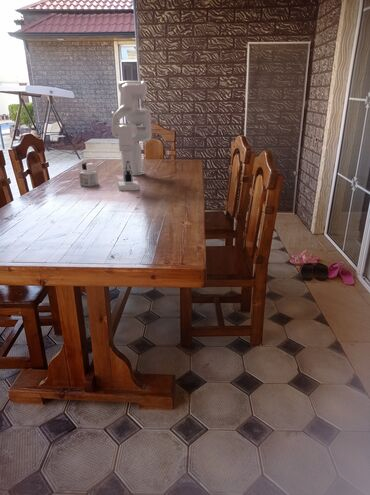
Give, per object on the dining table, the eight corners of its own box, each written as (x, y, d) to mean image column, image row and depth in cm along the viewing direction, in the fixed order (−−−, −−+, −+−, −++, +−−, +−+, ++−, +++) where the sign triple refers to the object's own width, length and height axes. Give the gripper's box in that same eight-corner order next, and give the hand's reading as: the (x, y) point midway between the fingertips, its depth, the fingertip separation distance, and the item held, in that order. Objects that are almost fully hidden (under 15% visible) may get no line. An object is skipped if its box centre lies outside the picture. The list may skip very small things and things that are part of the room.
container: (80, 185, 223) (77, 163, 218) (88, 182, 229) (86, 161, 225) (90, 186, 220) (88, 164, 215) (98, 184, 226) (96, 162, 221)
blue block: (123, 180, 216) (122, 170, 214) (131, 180, 217) (131, 169, 215) (124, 182, 212) (123, 171, 209) (132, 182, 213) (132, 171, 210)
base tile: (118, 186, 220) (117, 181, 218) (136, 185, 222) (136, 180, 221) (119, 190, 210) (119, 185, 209) (139, 189, 212) (138, 184, 211)
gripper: (118, 146, 214) (120, 177, 221) (120, 150, 199) (122, 183, 206) (131, 146, 216) (132, 177, 223) (134, 149, 200) (136, 183, 207)
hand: (127, 180), depth 214 cm, fingers closed on blue block, 5 cm apart
